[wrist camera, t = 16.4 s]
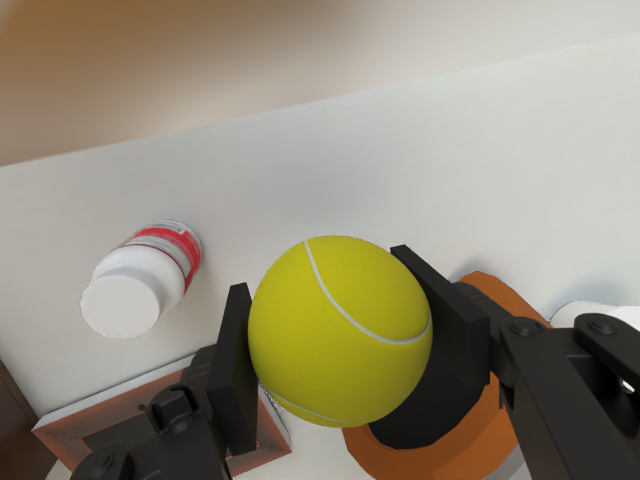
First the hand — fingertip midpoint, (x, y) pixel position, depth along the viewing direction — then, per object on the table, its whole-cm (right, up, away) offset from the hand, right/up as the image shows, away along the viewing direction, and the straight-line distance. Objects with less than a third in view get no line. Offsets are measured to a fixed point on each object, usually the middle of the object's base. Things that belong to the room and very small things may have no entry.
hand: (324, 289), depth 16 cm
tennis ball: (0, 0, 0) cm, 0 cm away
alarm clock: (+12, -11, +23) cm, 28 cm away
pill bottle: (-15, +2, +15) cm, 21 cm away
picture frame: (-17, -19, +22) cm, 33 cm away
